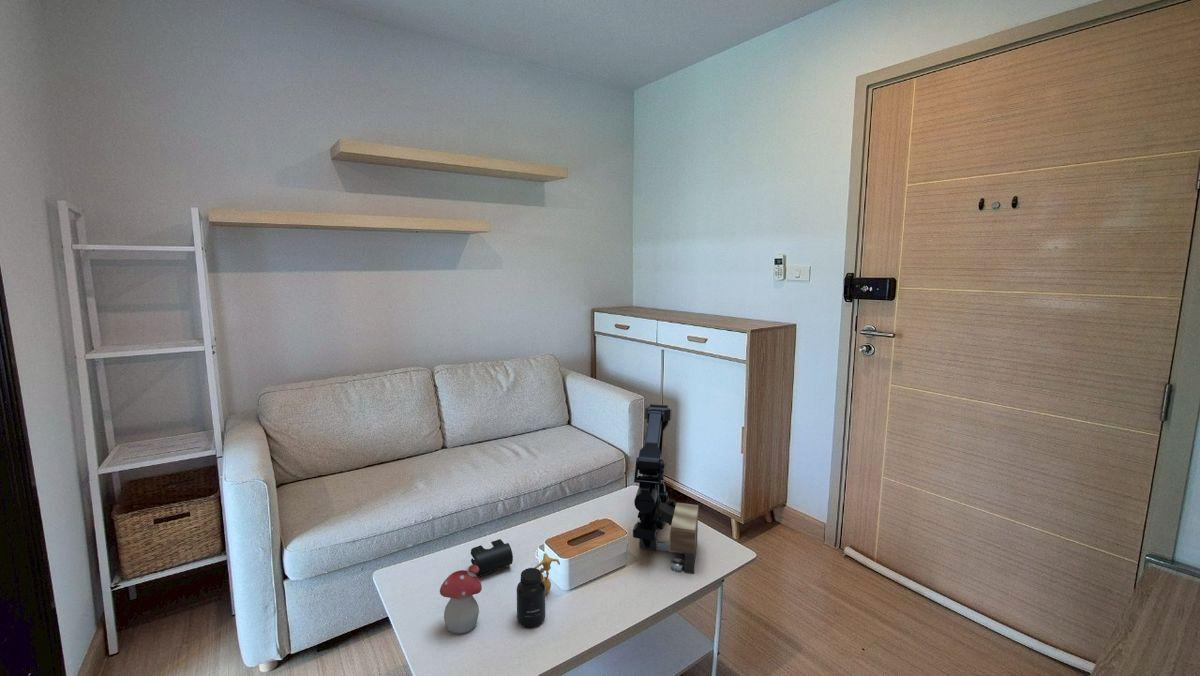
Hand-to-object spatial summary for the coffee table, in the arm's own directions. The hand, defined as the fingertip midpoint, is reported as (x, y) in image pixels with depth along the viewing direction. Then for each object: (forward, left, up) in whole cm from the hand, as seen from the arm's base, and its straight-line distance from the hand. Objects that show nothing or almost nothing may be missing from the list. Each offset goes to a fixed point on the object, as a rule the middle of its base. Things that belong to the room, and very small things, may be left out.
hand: (648, 544), depth 149 cm
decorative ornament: (+42, -37, -1) cm, 56 cm away
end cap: (+21, -40, -1) cm, 46 cm away
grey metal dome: (+8, +10, -1) cm, 12 cm away
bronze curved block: (+2, +11, -1) cm, 11 cm away
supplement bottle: (+36, -22, -1) cm, 42 cm away
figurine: (+27, -22, -1) cm, 35 cm away
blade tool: (0, +4, -1) cm, 4 cm away
